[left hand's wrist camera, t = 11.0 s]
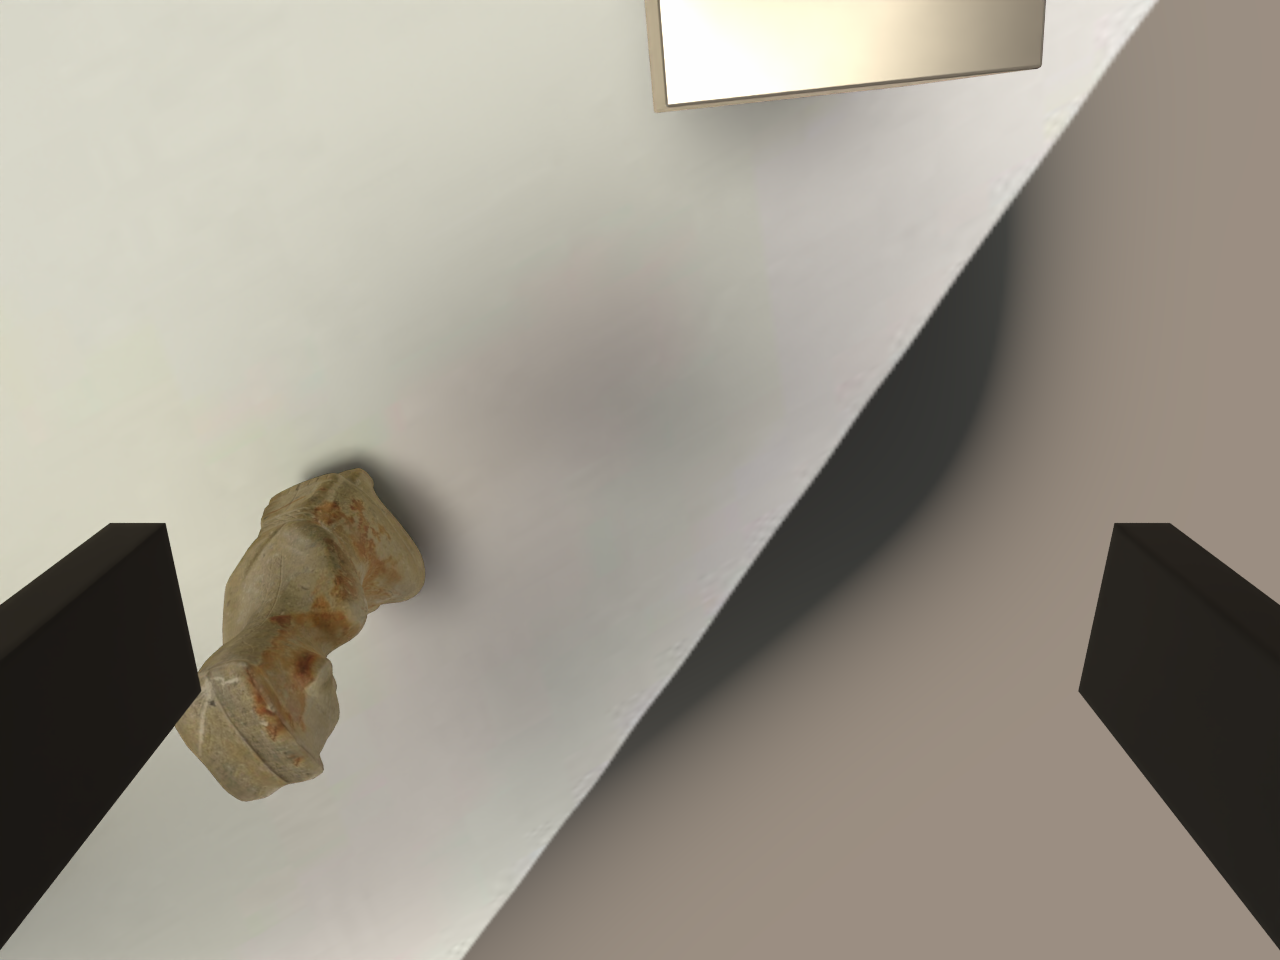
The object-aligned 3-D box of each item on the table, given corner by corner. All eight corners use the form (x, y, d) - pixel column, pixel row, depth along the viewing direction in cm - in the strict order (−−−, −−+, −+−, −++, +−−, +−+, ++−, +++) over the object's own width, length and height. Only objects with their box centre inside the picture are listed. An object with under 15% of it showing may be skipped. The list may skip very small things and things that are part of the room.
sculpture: (341, 608, 43) (199, 836, 29) (269, 478, 41) (77, 660, 27) (450, 572, 43) (358, 789, 29) (385, 438, 40) (249, 603, 26)
